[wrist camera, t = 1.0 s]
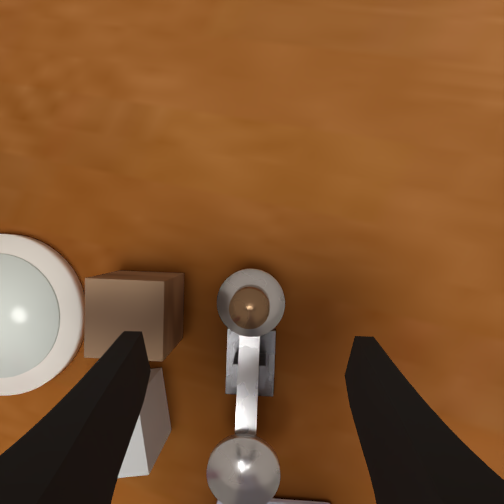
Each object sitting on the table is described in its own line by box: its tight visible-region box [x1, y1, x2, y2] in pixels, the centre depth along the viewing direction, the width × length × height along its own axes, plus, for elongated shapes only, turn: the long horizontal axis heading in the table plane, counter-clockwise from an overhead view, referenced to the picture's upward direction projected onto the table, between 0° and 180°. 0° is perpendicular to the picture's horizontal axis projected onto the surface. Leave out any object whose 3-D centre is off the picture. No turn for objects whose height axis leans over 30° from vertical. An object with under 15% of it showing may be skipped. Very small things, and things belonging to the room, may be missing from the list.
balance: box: [207, 268, 285, 504], centre depth 21 cm, size 13×4×5 cm, turn 178°
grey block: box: [118, 367, 171, 478], centre depth 21 cm, size 4×4×4 cm
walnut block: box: [84, 271, 184, 361], centre depth 21 cm, size 4×4×4 cm
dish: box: [0, 234, 85, 395], centre depth 23 cm, size 11×11×1 cm
